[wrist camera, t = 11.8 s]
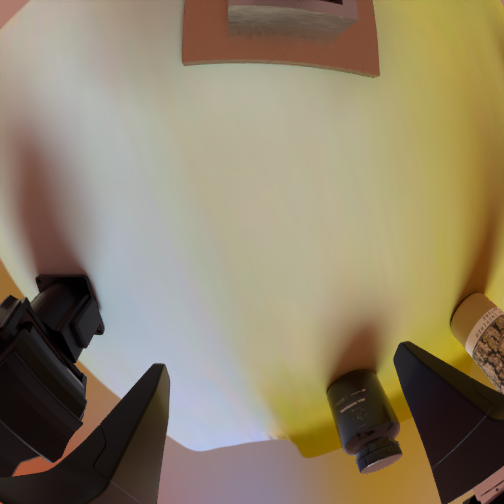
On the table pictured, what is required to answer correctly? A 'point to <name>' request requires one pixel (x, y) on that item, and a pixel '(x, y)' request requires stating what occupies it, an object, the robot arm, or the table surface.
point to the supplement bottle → (365, 420)
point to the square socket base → (283, 33)
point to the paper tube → (482, 335)
